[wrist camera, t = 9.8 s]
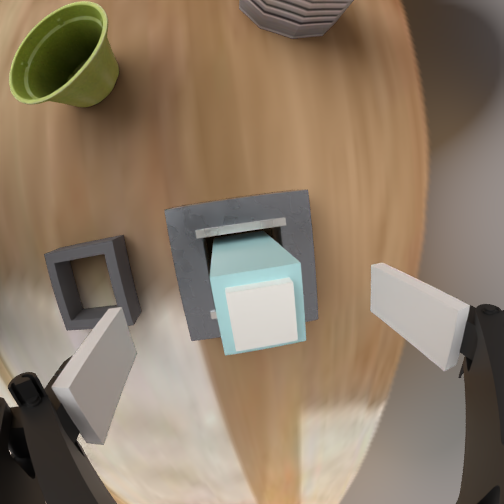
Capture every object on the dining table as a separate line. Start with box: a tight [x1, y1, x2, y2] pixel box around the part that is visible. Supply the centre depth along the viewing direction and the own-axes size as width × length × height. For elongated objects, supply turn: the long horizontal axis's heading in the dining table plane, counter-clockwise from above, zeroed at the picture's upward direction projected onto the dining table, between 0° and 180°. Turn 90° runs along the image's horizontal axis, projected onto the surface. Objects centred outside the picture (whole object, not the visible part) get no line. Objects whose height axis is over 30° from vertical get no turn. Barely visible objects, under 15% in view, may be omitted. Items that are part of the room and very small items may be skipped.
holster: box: [44, 235, 141, 330], centre depth 23 cm, size 8×8×3 cm
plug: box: [210, 231, 306, 355], centre depth 20 cm, size 4×4×13 cm
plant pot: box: [9, 1, 119, 107], centre depth 16 cm, size 9×9×9 cm
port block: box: [165, 190, 318, 341], centre depth 24 cm, size 11×11×4 cm
